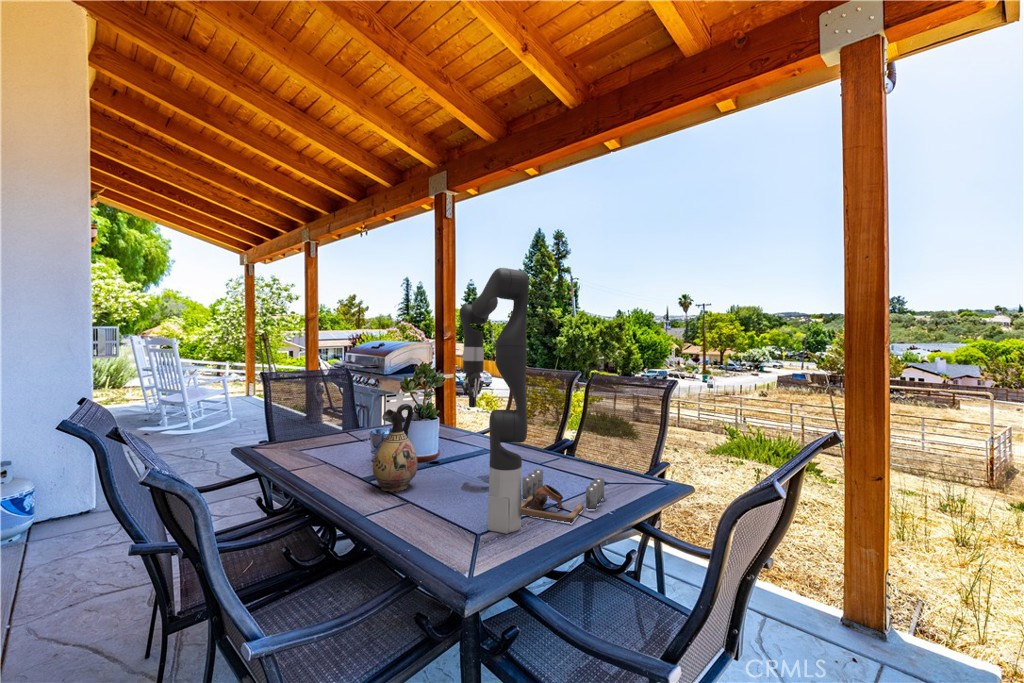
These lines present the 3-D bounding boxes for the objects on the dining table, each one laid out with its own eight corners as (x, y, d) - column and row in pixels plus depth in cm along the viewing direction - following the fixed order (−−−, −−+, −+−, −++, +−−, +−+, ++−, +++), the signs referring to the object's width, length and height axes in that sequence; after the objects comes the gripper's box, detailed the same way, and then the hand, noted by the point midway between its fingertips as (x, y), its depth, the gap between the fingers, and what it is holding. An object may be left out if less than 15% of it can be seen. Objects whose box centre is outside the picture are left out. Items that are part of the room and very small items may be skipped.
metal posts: (595, 512, 138) (595, 490, 138) (520, 499, 149) (520, 478, 149) (605, 499, 150) (605, 478, 151) (535, 488, 161) (535, 468, 161)
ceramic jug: (391, 498, 148) (392, 408, 148) (363, 489, 157) (365, 404, 157) (429, 486, 161) (431, 403, 161) (402, 478, 170) (403, 400, 171)
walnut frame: (571, 525, 128) (571, 518, 128) (515, 514, 136) (515, 507, 136) (583, 511, 140) (583, 504, 140) (530, 501, 147) (530, 495, 147)
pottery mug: (533, 502, 148) (546, 481, 148) (556, 521, 143) (569, 498, 144) (520, 504, 137) (534, 481, 137) (544, 524, 133) (559, 500, 133)
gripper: (473, 360, 154) (472, 410, 154) (490, 359, 166) (490, 405, 166) (454, 359, 157) (453, 408, 157) (473, 358, 169) (472, 404, 169)
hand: (472, 407), depth 161 cm, fingers closed
